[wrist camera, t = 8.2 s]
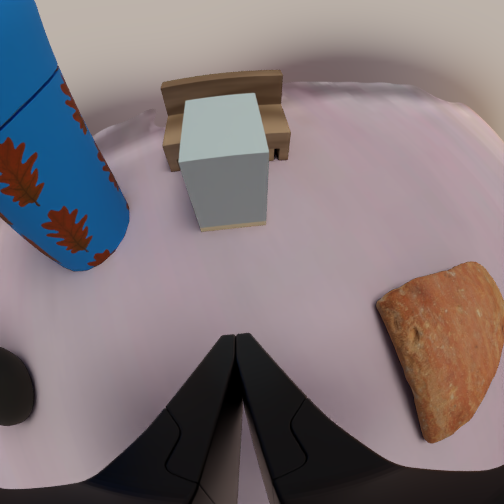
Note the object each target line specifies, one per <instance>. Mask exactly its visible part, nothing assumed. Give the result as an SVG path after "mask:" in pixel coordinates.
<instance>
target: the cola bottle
mask: <svg viewBox="0 0 504 504" xmlns="http://www.w3.org/2000/svg"><path fill="white" fill-rule="evenodd" d="M32 407H33V387H32V382H31V379H30V376H29V373H28V371H27V369H26V367H25V366H24V364H23V363H22V362H21V360H20V359H19V358H18V357H16V356H15V355H14V354H13V353H11V352H10V351H8V350H6V349H4V348H2V347H0V425H3V426H11V425H15V424H18V423H21V422H22V421H24V420H25V419H26V418H27V417H28V416H29V415H30V413H31V410H32Z"/></svg>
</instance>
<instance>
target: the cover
mask: <svg viewBox="0 0 504 504" xmlns="http://www.w3.org/2000/svg"><path fill="white" fill-rule="evenodd" d="M178 163H179V166H180V169H181V172H182V175H183V178H184V181H185V185H186V188H187V191H188V194H189V197H190V200H191V203H192V206H193V209H194V212H195V215H196V217H197V220H198V223H199V226H200V229H201V232H205V231H214V230H223V229H232V228H242V227H251V226H261V225H266V211H267V190H268V168H269V149H268V145H267V141H266V136H265V132H264V128H263V124H262V120H261V115H260V111H259V107H258V103H257V99H256V95H255V93H246V94H234V95H224V96H215V97H207V98H200V99H193V100H187V101H186V102H185V109H184V116H183V124H182V133H181V142H180V151H179V162H178Z"/></svg>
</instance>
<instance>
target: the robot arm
mask: <svg viewBox="0 0 504 504" xmlns="http://www.w3.org/2000/svg"><path fill="white" fill-rule="evenodd" d="M243 403H244V408H245V412H246V417H247V421H248V425H249V429H250V433H251V437H252V441H253V444H254V448H255V452H256V456H257V460H258V463H259V467H260V471H261V474H262V478H263V481H264V485H265V488H266V492H267V495H268V499H269V502H270V504H504V465H502V466H500V467H498V468H494V469H490V470H484V471H444V470H430V469H420V468H411V467H405V466H402V465H398V464H395V463H393V462H391V461H389V460H387V459H385V458H383V457H382V456H380V455H378V454H377V453H375V452H374V451H373V450H371V449H370V448H368V447H367V446H365V445H364V444H362V443H361V442H360V441H358V440H357V439H355V438H354V437H352V436H351V435H350V434H348V433H347V432H346V431H344V430H343V429H342V428H340V427H339V426H338V425H337V424H335V423H334V422H333V421H332V420H330V419H329V418H328V417H327V416H326V415H325V414H324V413H323V412H322V411H321V410H320V409H319V408H318V407H317V406H316V405H315V404H314V403H313V402H312V401H311V400H310V399H309V398H307V396H306V395H305V394H304V393H303V392H302V391H301V390H300V389H299V388H298V386H297V385H296V384H295V383H294V382H293V381H292V380H291V379H290V378H289V377H288V376H287V374H286V373H285V372H284V371H283V370H282V369H281V368H280V367H279V366H278V365H277V363H276V362H275V361H274V360H273V359H272V358H271V357H270V355H269V354H268V353H267V352H266V351H265V350H264V349H263V348H262V346H261V345H260V344H259V343H258V342H257V341H256V339H255V338H254V337H253V336H252V335H251V334H250V333H243V334H237V335H236V336H235V335H234V334H232V335H222V336H221V337H220V338H219V340H218V341H217V342H216V343H215V345H214V346H213V347H212V349H211V350H210V351H209V353H208V354H207V355H206V356H205V358H204V359H203V360H202V362H201V363H200V364H199V365H198V367H197V368H196V369H195V371H194V372H193V373H192V374H191V376H190V377H189V378H188V379H187V381H186V382H185V383H184V385H183V386H182V387H181V388H180V390H179V391H178V392H177V393H176V395H175V396H174V397H173V398H172V400H171V401H170V402H169V403H168V405H167V406H166V408H165V409H163V411H162V412H161V413H160V414H159V415H158V417H157V418H156V419H155V420H154V421H153V422H152V424H151V425H150V426H149V427H148V428H147V429H146V430H145V431H144V432H143V433H142V434H141V435H140V436H139V437H138V438H137V439H136V440H135V441H134V442H133V443H132V444H131V445H130V446H129V447H128V448H127V449H126V450H124V451H123V452H122V453H121V454H120V455H119V456H118V457H117V458H115V459H114V460H113V461H112V462H111V463H110V464H109V465H108V466H106V467H105V468H104V469H103V470H102V471H100V472H99V473H98V474H96V475H95V476H93V477H91V478H89V479H87V480H85V481H82V482H79V483H74V484H68V485H61V486H53V487H44V488H32V489H2V488H0V504H237V498H238V482H239V465H240V448H241V431H242V414H243Z"/></svg>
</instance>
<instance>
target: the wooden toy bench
mask: <svg viewBox="0 0 504 504" xmlns="http://www.w3.org/2000/svg"><path fill="white" fill-rule="evenodd" d="M282 79H283V75H282V73H281V71H280V70H258V71H241V72H229V73H219V74H210V75H203V76H195V77H189V78H183V79H177V80H172V81H167V82H163V83H162V86H161V91H162V95H163V99H164V103H165V106H166V110H167V114H168V119H167V124H166V129H165V134H164V140H163V149H164V152H165V155H166V158H167V161H168V164H169V167H170V169H171V172H173V171H180V166H179V163H178V162H179V151H180V142H181V133H182V124H183V116H184V109H185V102H186V101H187V100H193V99H200V98H207V97H215V96H224V95H234V94H246V93H255V95H256V99H257V103H258V107H259V111H260V115H261V120H262V124H263V128H264V132H265V136H266V141H267V145H268V149H269V161H273V160H274V149H276V151H277V155H278V159H279V160H288V153H289V144H290V136H291V132H290V129H289V126H288V123H287V120H286V117H285V114H284V111H283V109H282V106H281V96H282Z"/></svg>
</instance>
